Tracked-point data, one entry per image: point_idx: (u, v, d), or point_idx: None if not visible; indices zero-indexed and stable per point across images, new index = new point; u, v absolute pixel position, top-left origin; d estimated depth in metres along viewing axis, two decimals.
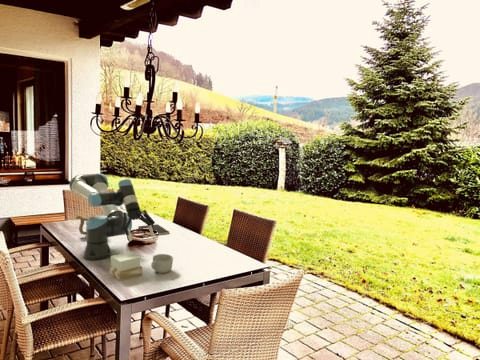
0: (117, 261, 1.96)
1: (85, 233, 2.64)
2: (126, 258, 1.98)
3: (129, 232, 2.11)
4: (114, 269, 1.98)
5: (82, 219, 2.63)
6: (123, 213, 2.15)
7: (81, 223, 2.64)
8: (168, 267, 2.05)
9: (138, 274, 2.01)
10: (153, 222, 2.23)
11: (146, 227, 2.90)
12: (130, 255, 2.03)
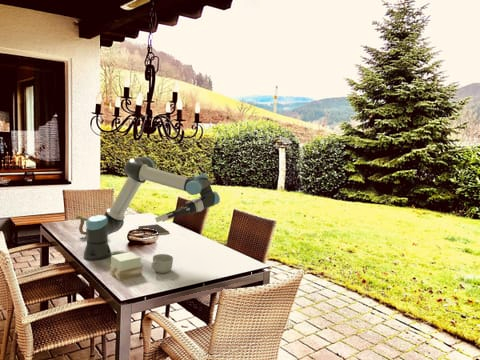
0: (117, 261, 1.96)
1: (85, 233, 2.64)
2: (126, 258, 1.98)
3: None
4: (114, 269, 1.98)
5: (82, 219, 2.63)
6: (189, 210, 2.10)
7: (81, 223, 2.64)
8: (168, 267, 2.05)
9: (138, 274, 2.01)
10: None
11: (146, 227, 2.90)
12: (130, 255, 2.03)
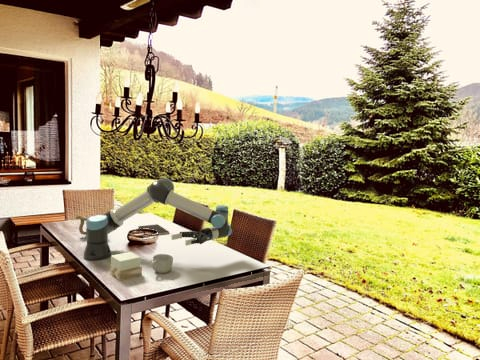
0: (117, 261, 1.96)
1: (85, 233, 2.64)
2: (126, 258, 1.98)
3: None
4: (114, 269, 1.98)
5: (82, 219, 2.63)
6: (209, 239, 2.19)
7: (81, 223, 2.64)
8: (168, 267, 2.05)
9: (138, 274, 2.01)
10: None
11: (146, 227, 2.90)
12: (130, 255, 2.03)
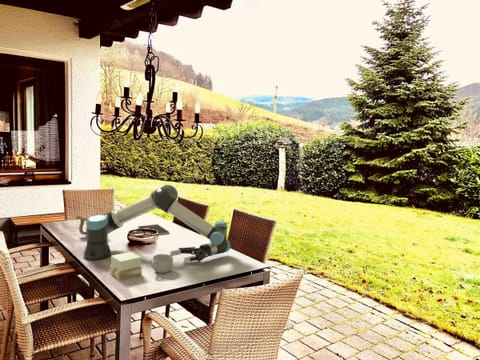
0: (117, 261, 1.96)
1: (85, 233, 2.64)
2: (126, 258, 1.98)
3: (190, 261, 2.12)
4: (114, 269, 1.98)
5: (82, 219, 2.63)
6: (207, 256, 2.20)
7: (81, 223, 2.64)
8: (168, 267, 2.05)
9: (138, 274, 2.01)
10: None
11: (146, 227, 2.90)
12: (130, 255, 2.03)
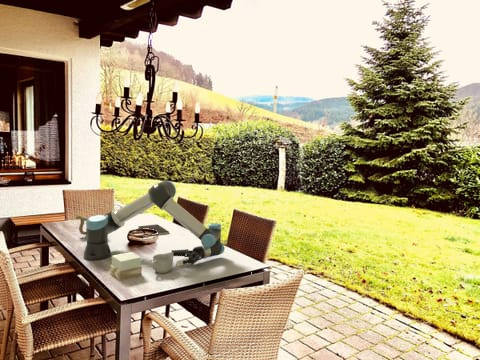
0: (118, 261, 1.96)
1: (85, 233, 2.64)
2: (127, 258, 1.99)
3: (183, 264, 2.08)
4: (114, 269, 1.98)
5: (82, 219, 2.63)
6: (201, 258, 2.16)
7: (81, 223, 2.64)
8: (168, 267, 2.05)
9: (138, 274, 2.01)
10: None
11: (146, 227, 2.90)
12: (131, 255, 2.03)
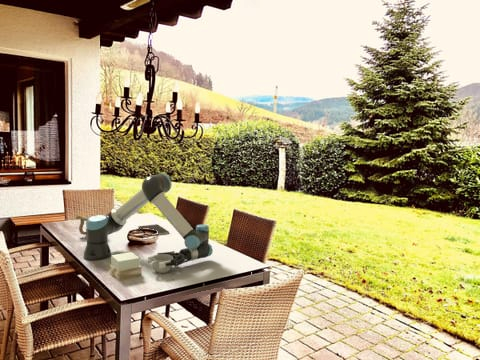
0: (116, 261, 1.96)
1: (85, 233, 2.64)
2: (125, 258, 1.98)
3: (166, 266, 2.03)
4: (114, 269, 1.98)
5: (82, 219, 2.63)
6: (186, 261, 2.10)
7: (81, 223, 2.64)
8: (168, 267, 2.05)
9: (138, 274, 2.01)
10: None
11: (146, 227, 2.90)
12: (130, 255, 2.03)
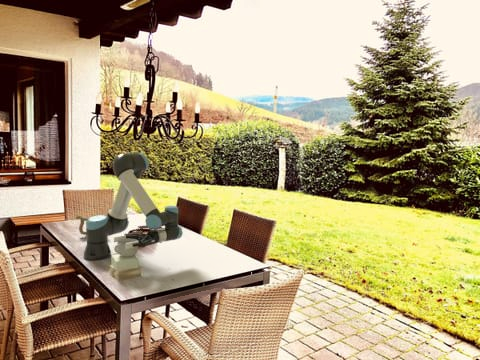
0: (114, 261, 1.97)
1: (85, 233, 2.64)
2: (124, 258, 1.98)
3: (133, 247, 1.96)
4: (113, 269, 1.98)
5: (82, 219, 2.63)
6: (154, 242, 2.04)
7: (81, 223, 2.64)
8: (132, 251, 1.99)
9: (137, 275, 2.00)
10: None
11: (146, 227, 2.90)
12: None
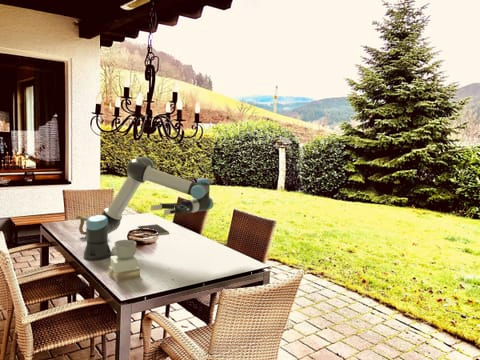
0: (113, 262, 1.94)
1: (85, 233, 2.64)
2: (122, 260, 1.95)
3: None
4: (112, 270, 1.96)
5: (82, 219, 2.63)
6: (188, 210, 2.17)
7: (81, 223, 2.64)
8: (130, 253, 1.96)
9: (136, 276, 1.98)
10: None
11: (146, 227, 2.90)
12: None
